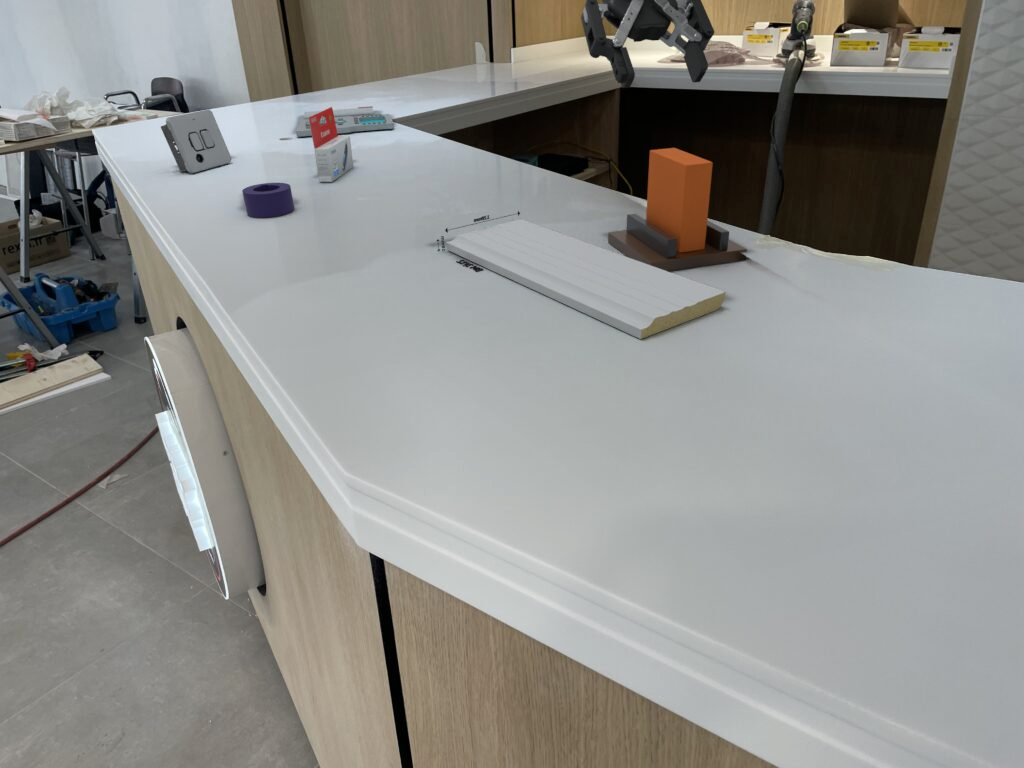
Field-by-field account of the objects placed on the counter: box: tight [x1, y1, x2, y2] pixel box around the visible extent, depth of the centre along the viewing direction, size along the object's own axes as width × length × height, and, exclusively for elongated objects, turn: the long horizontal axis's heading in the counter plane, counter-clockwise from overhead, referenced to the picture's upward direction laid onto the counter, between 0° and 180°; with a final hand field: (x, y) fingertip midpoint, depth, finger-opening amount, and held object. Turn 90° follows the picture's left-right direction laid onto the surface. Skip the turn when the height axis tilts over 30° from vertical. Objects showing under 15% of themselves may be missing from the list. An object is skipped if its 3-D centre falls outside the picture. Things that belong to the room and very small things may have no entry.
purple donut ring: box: [241, 182, 295, 219], centre depth 102 cm, size 12×6×3 cm, turn 26°
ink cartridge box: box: [308, 106, 354, 183], centre depth 117 cm, size 2×11×10 cm, turn 173°
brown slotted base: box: [607, 212, 748, 272], centre depth 80 cm, size 11×11×3 cm
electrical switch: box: [160, 109, 233, 174], centre depth 126 cm, size 9×5×9 cm, turn 153°
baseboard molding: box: [436, 210, 726, 340], centre depth 74 cm, size 31×3×12 cm
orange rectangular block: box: [645, 147, 714, 253], centre depth 78 cm, size 3×8×9 cm, turn 17°
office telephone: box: [295, 105, 394, 138], centre depth 160 cm, size 23×3×20 cm
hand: (665, 80), depth 80 cm, fingers open, 8 cm apart
